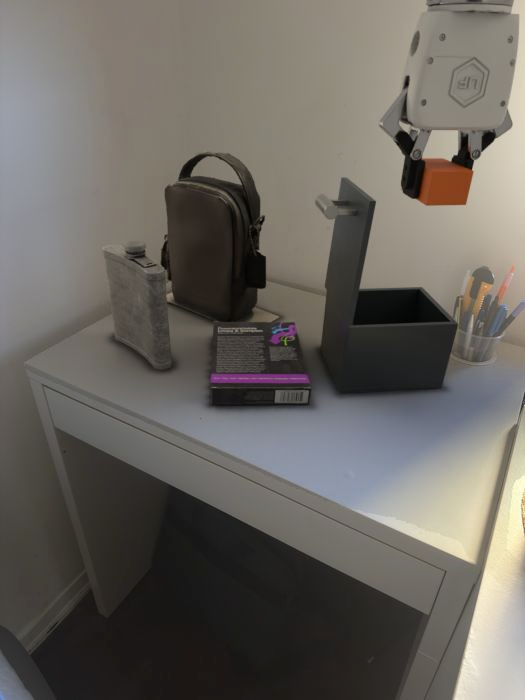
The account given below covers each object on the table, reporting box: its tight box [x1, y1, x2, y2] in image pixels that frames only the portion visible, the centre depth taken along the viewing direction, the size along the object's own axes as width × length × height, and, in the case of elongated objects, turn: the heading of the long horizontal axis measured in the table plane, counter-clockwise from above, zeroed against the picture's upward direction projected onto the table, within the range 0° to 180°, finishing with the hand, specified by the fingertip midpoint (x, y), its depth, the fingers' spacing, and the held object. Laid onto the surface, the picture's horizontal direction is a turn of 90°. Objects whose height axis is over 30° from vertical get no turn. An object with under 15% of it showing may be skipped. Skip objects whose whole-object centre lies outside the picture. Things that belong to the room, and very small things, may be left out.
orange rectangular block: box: [400, 157, 474, 207], centre depth 55 cm, size 7×4×4 cm, turn 8°
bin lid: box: [314, 176, 377, 325], centre depth 67 cm, size 16×13×5 cm
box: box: [209, 320, 312, 405], centre depth 77 cm, size 14×4×20 cm
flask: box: [102, 239, 173, 371], centre depth 77 cm, size 4×14×18 cm, turn 44°
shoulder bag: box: [159, 150, 280, 322], centre depth 88 cm, size 23×9×28 cm, turn 53°
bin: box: [320, 286, 459, 394], centre depth 76 cm, size 16×13×11 cm
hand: (432, 193), depth 56 cm, fingers closed on orange rectangular block, 4 cm apart
